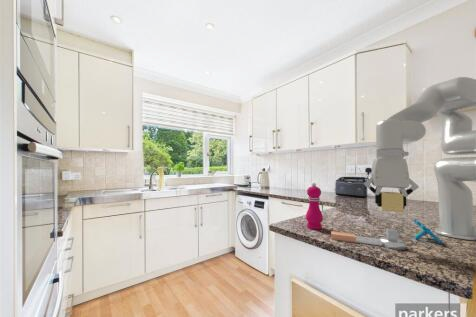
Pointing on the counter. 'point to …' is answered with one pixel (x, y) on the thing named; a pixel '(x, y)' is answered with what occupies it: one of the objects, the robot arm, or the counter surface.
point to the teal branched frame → (425, 232)
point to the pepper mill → (314, 208)
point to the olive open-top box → (391, 201)
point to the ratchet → (372, 239)
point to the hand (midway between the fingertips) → (390, 206)
